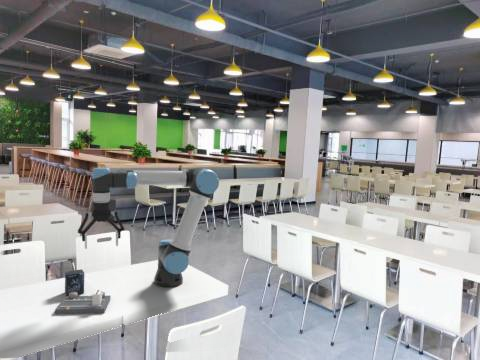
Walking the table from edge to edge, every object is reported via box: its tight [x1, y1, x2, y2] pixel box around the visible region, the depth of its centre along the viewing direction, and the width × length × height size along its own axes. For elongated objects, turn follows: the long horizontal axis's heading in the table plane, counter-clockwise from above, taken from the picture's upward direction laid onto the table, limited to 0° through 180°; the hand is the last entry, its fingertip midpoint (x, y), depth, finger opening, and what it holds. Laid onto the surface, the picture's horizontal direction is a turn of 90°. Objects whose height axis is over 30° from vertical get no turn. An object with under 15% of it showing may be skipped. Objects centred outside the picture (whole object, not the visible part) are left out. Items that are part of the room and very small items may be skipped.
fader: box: [92, 289, 103, 306], centre depth 165 cm, size 3×5×5 cm, turn 9°
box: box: [64, 269, 85, 296], centre depth 181 cm, size 8×6×11 cm
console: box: [54, 291, 112, 315], centre depth 167 cm, size 20×14×4 cm
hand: (101, 246), depth 174 cm, fingers open, 13 cm apart
